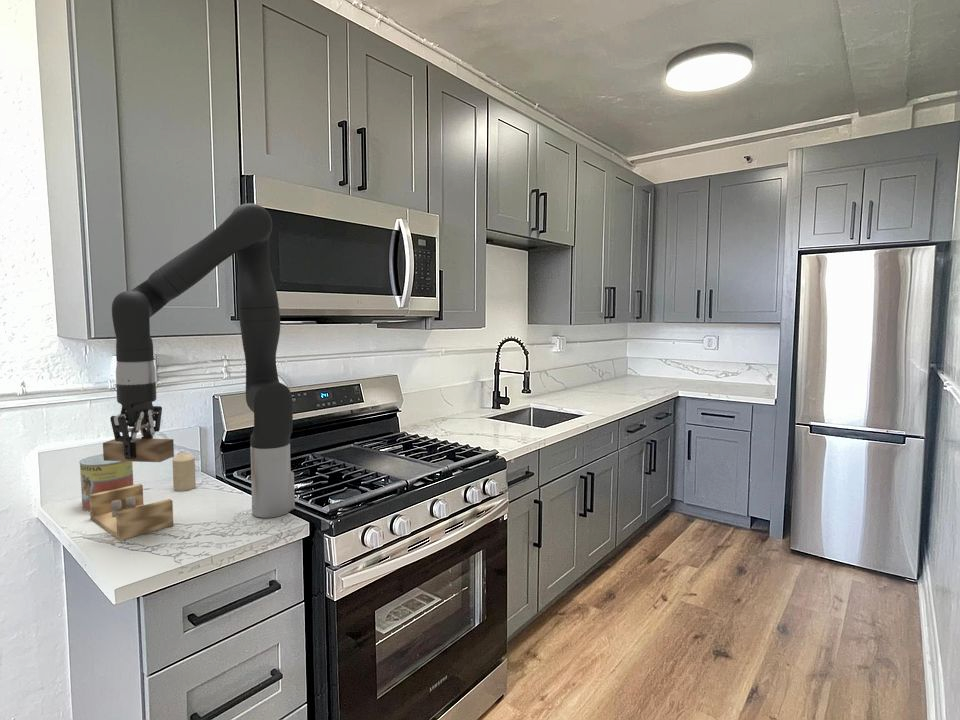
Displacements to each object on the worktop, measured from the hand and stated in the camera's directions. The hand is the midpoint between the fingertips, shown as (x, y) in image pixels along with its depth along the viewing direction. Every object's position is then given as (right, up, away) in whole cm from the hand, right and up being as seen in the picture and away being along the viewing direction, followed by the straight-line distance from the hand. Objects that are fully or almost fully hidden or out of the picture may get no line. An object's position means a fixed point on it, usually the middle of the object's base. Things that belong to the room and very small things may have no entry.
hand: (139, 455), depth 123 cm
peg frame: (-6, -17, +6) cm, 19 cm away
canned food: (-19, -16, +18) cm, 31 cm away
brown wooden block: (0, -1, 0) cm, 1 cm away
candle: (-6, -15, +31) cm, 35 cm away
